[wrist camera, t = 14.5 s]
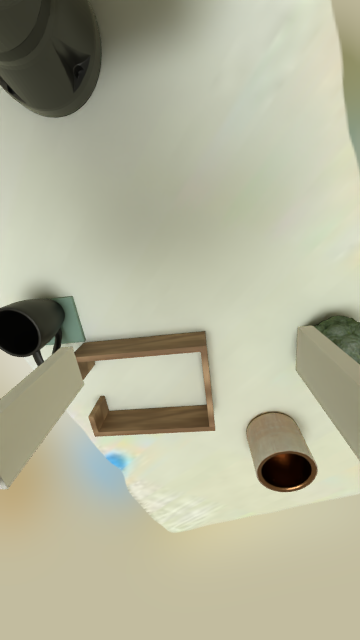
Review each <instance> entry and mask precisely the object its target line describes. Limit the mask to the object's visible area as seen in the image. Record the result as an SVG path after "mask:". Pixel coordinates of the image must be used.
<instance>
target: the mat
mask: <svg viewBox="0 0 360 640" xmlns="http://www.w3.org/2000/svg"><path fill="white" fill-rule="evenodd" d="M52 300H54V301H56V302H58V303H59V304H60V305H61V306H62V308H63V309H64V312H65V319H64V322H63V323H62V325H61V329H62V342H61V344H64V343H75V342H84V341H85V336H84V333H83V330H82V326H81V323H80V320H79V316H78V313H77V310H76V306H75V303H74V300H73V296H70V297H62V298H53V299H52ZM54 342H55V336H54V337H53V339H52V340H51V341H50V342H49V343H47V344H46V345H54Z"/></svg>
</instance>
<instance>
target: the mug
mask: <svg viewBox="0 0 360 640" xmlns="http://www.w3.org/2000/svg"><path fill="white" fill-rule="evenodd" d="M64 319H65V312H64V309H63V308H62V306H61V305H60V304H59V303H58V302H56V301H54V300H52V299H30V300H24V301H19V302H15V303H12V304H10V305H7V306H5V307H2V308H0V349H1V350H3V351H5V352H6V353H8V354H10V355H12V356H17V357H27V356H31V355H33V357H34V360H35V362H36V363H37V365H38V366H40V365H41V364H42V363H43V362H44V360H43V358H42V356H41V352H40V349H41V348H43V347H44V346H45V345H46V344H47V343H49V342H50V341H51V340H52V339H53V337H54V336H55V342H54V348H53V352H52V354H54V353H55V352H56V351H57V350H58V349H59V348H60V347H61V342H62V329H61V325H62V323H63V322H64Z"/></svg>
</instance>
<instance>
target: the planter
mask: <svg viewBox="0 0 360 640" xmlns="http://www.w3.org/2000/svg"><path fill="white" fill-rule="evenodd" d="M247 440H248V444H249V448H250V451H251V455H252V459H253V463H254V467H255V471H256V475H257V478H258V480H259V482H260V483H261V484H262V485H263V486H265V487H266V488H268V489H271V490H273V491H278V492H292V491H297V490H300V489H302V488H305V487H306V486H308V485H309V484H310V483H312V482H313V480H314V479H315V477H316V475H317V471H318V469H317V464H316V462H315V460H314V458H313V456H312V454H311V452H310V450H309V448H308V446H307V444H306V442H305V440H304V438H303V436H302V434H301V432H300V430H299V428H298V426H297V424H296V423H295V421H294V420H293V419H292V418H290V417H289V416H287V415H284V414H280V413H267V414H263V415H261V416H259V417H257V418H255V419H254V420H253V421H252V422H251V423H250V424H249V426H248V428H247Z"/></svg>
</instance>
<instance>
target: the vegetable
mask: <svg viewBox="0 0 360 640" xmlns="http://www.w3.org/2000/svg"><path fill="white" fill-rule="evenodd" d="M314 327H315V328H316V329H317V330H318V331H320V332H321V333H322V334H323V335H324V336H326V337H327V338H328V339H329V340H331V341H332V342H333V343H334V344H335V345H337V346H338V347H339V348H340V349H341V350H343V351H344V352H345V353H346V354H348V355H349V356H350V357H351V358H352V359H354V360H355V361H356V362H357V363H358V364H360V322H356V321H355V320H354V319H353V318H348V317H345V316H333V317H331V318H329V319H328V320H325V321H322V322H321V323H319V326H318V325H315V326H314Z"/></svg>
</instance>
